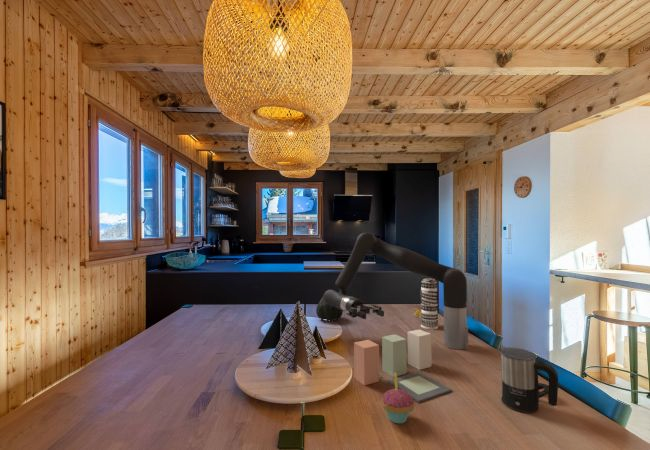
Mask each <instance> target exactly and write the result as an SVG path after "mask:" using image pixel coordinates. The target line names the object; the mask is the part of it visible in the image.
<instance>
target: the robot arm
mask: <svg viewBox="0 0 650 450" xmlns="http://www.w3.org/2000/svg"><path fill="white" fill-rule="evenodd" d="M367 254H371V255H375V256H378V257H381V258H383V259H385V260H386V261H388V262H390V263H391V264H393V265H395V266H397V267H398V268H401V269H403V270H406V271H407V272H410V273H413V274H417V275H420V276H426V277H427V278H432V279H435V281H437V282H440V283H442V285H443V290H442V291H443V342H444V343H443V344H444V346H445V347H447V348H450V349H453V350H464V349H465V350H467V349H469V326H468V324H467V321H468V320H467V318H468V317H467V316H468V315H467V302H468V300H467V299H468V292H467V291H468V286H467V284H468V283H467V278H466V275H465V273H464V272H463V271H461V270H460V269H459V268H455V267H451V266H448V265H444V264H441V263H438V262H435V260H432V259H430V258H428V257H427V256H424V255H422V254H420V253H418V252H415V251H413V250H411V249H408V248H405V247H402V246H399V245H394V244H390V243H387V242H385V241H384V240H382V239H380V238H377V237H376V236H374V235H373V234H372V233H370V232H367V231H366V232H362V233H360V234H359V235H358V236H357V239H356V241H355V244H354V246H353V249H352V251H351V253H350V256H349V257H348V260H347V261H346V262H345V265H344V267H343V268H342V270H341V271H340V273H339V275H338V277H337V279H336V280H335V282H334V283H335V286H336V287H337V288H338V289H339V291H338V292H337V291H336V290H334V289H327V290H326V291H325V292H324V293H323V296H322V297H323V299H324V301H325V303H327V304H329V305H331V306H334V307H336V308H338V309H340V310H342V311H343V313H345V314H346V315H347V316H349V317H350V318H360V319H363V320H366V319H367V316H368V315H370V316H373V315H377V316H380V317H384V316H385V310H382V306H379V305H376V304H371V305H367V304H365V302H364V301H363V300H361V299H359V298H356V297H354V296H349V295H348V291H349V289H350V287H351V285H352V283H353V281H354V279H355V278H356V276H357V274H358V271H359V269H360V266H361V265H362V262H363V260H364V259H365V257H366V256H367Z"/></svg>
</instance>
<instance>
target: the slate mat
mask: <svg viewBox="0 0 650 450" xmlns="http://www.w3.org/2000/svg"><path fill="white" fill-rule="evenodd" d="M387 383H388V384H390V385H391V386H393V387H394V388H395V377H393V378H392V379H388V380H387ZM397 385H398V389H401V390H403V391H405V392H407V393H409V394H410V396H411V397H412V398H413V400H414V402H417V403H418V404H419V403H421V402H424V401H427V400H430V399H433V398H436V397H439V396H442V395H445V394H447V393H451V392H453V390H452V388H451V387H449V386H447V385H445V384H443V383H441V382H439V381H438V380H437V379H434V378H432V377H431V376H428V375H426V374H424V373H423V372H421V371H416V372H412V373H409V374H404V375H401V376H397Z"/></svg>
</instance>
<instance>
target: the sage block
mask: <svg viewBox="0 0 650 450" xmlns="http://www.w3.org/2000/svg"><path fill="white" fill-rule="evenodd" d="M381 347H382V348H381V355H382V356H381V358H382V359H381V360H382V362H381V363H382V367H381V368H382V371H383V372H385V374H387V375H388V376H391V377H393V378H395V375H394V373H395V370H396V373H397V377H400V376H404V375H407V372H408V370H407V365H408V360H407V339H406V338H404V337H403V336H400V335H398V334H390V335H385V336H382V337H381Z"/></svg>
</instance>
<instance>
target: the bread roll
mask: <svg viewBox="0 0 650 450" xmlns="http://www.w3.org/2000/svg"><path fill="white" fill-rule="evenodd" d="M421 312H422V309H417V310H415V312H414V313H413V315H414V317H415V318H419V319H422V317H421Z"/></svg>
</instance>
